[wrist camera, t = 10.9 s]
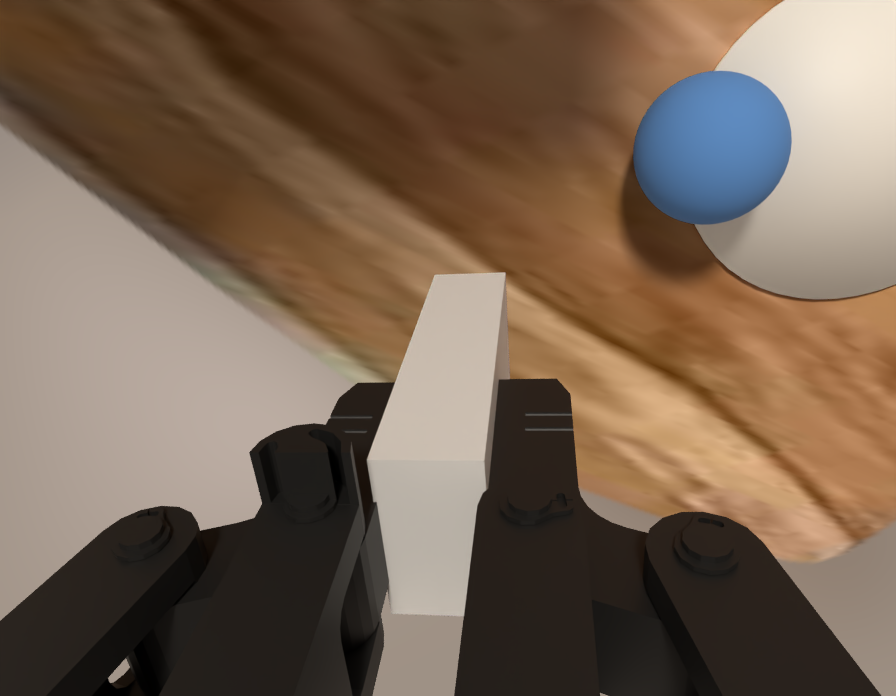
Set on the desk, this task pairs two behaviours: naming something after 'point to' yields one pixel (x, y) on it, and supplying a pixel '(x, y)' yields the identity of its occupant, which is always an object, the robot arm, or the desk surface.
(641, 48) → the desk surface
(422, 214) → the desk surface
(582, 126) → the desk surface
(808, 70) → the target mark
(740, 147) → the ball
